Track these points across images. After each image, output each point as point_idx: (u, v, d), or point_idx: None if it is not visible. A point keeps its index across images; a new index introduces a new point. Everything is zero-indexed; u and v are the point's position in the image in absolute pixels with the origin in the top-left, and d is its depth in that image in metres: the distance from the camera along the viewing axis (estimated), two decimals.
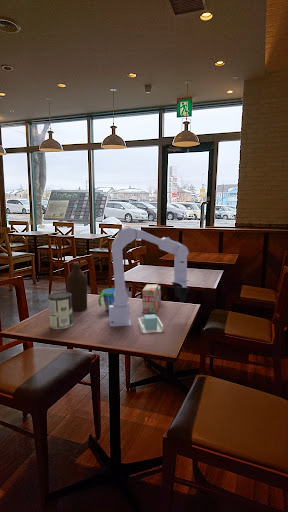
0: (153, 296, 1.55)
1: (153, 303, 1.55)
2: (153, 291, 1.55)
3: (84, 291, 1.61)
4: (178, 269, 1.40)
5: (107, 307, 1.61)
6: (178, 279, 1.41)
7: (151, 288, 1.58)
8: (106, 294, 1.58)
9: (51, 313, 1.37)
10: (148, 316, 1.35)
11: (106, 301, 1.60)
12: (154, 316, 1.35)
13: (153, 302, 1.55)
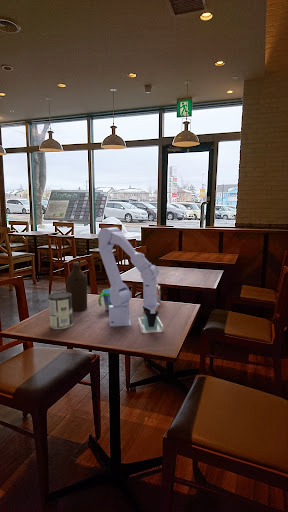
0: None
1: None
2: None
3: (84, 291, 1.61)
4: (144, 292, 1.32)
5: (107, 307, 1.61)
6: (147, 304, 1.32)
7: None
8: (106, 294, 1.58)
9: (51, 313, 1.37)
10: None
11: (106, 301, 1.60)
12: None
13: None
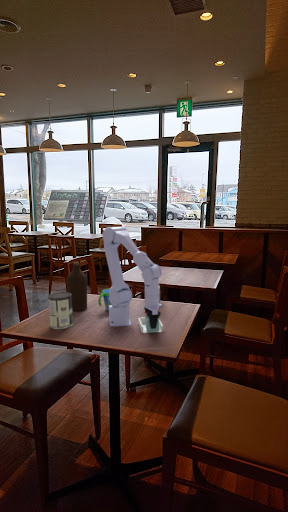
0: None
1: None
2: None
3: (84, 291, 1.61)
4: (145, 292, 1.28)
5: (107, 307, 1.61)
6: (149, 304, 1.27)
7: None
8: (106, 294, 1.58)
9: (51, 313, 1.37)
10: None
11: (106, 301, 1.60)
12: None
13: None
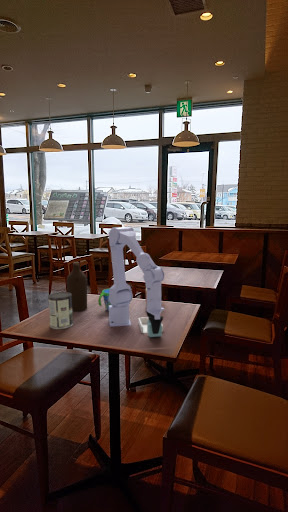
0: None
1: None
2: None
3: (84, 291, 1.61)
4: (147, 296, 1.23)
5: (107, 307, 1.61)
6: (151, 308, 1.22)
7: None
8: (106, 294, 1.58)
9: (51, 313, 1.37)
10: None
11: (106, 301, 1.60)
12: None
13: None
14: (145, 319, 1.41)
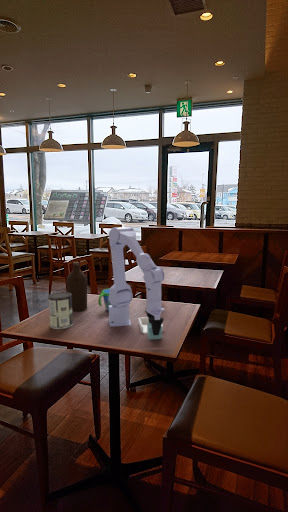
0: None
1: None
2: None
3: (84, 291, 1.61)
4: (147, 296, 1.23)
5: (107, 307, 1.61)
6: (151, 309, 1.22)
7: None
8: (106, 294, 1.58)
9: (51, 313, 1.37)
10: None
11: (106, 301, 1.60)
12: None
13: None
14: (145, 319, 1.41)
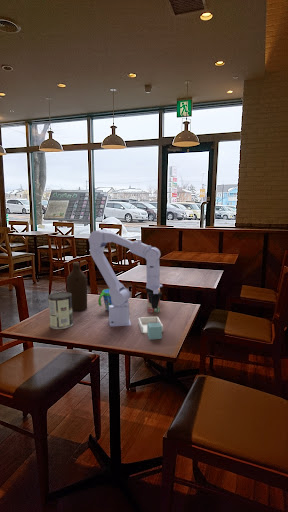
0: None
1: None
2: (158, 290, 1.56)
3: (84, 291, 1.61)
4: (148, 274, 1.34)
5: (107, 307, 1.61)
6: (150, 285, 1.34)
7: None
8: (106, 294, 1.58)
9: (51, 313, 1.37)
10: (152, 324, 1.26)
11: (106, 301, 1.60)
12: (158, 324, 1.25)
13: None
14: (145, 319, 1.41)
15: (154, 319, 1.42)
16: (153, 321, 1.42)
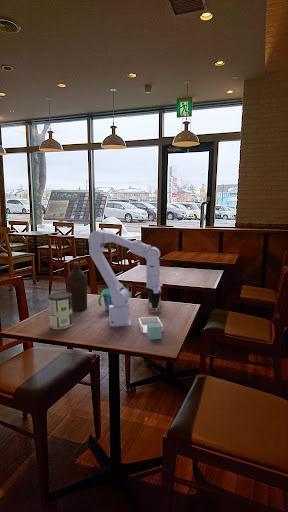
0: None
1: (159, 302, 1.57)
2: (159, 290, 1.56)
3: (84, 291, 1.61)
4: (148, 273, 1.34)
5: (107, 307, 1.61)
6: (150, 284, 1.35)
7: None
8: (106, 294, 1.58)
9: (51, 313, 1.37)
10: (152, 324, 1.26)
11: (106, 301, 1.60)
12: (158, 324, 1.25)
13: (159, 301, 1.57)
14: (145, 319, 1.41)
15: (154, 319, 1.42)
16: (153, 321, 1.42)
